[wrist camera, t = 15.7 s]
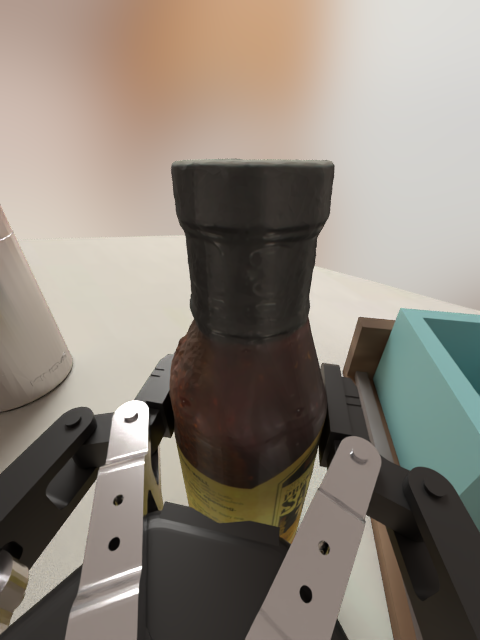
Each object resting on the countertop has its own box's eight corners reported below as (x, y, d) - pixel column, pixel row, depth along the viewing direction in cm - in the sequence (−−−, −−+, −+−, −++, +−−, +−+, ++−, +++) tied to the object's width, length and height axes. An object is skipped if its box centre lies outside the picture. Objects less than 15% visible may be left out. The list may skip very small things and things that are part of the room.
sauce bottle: (293, 602, 14) (492, 168, 3) (180, 573, 15) (9, 163, 4) (294, 475, 19) (365, 155, 8) (211, 460, 20) (177, 154, 9)
